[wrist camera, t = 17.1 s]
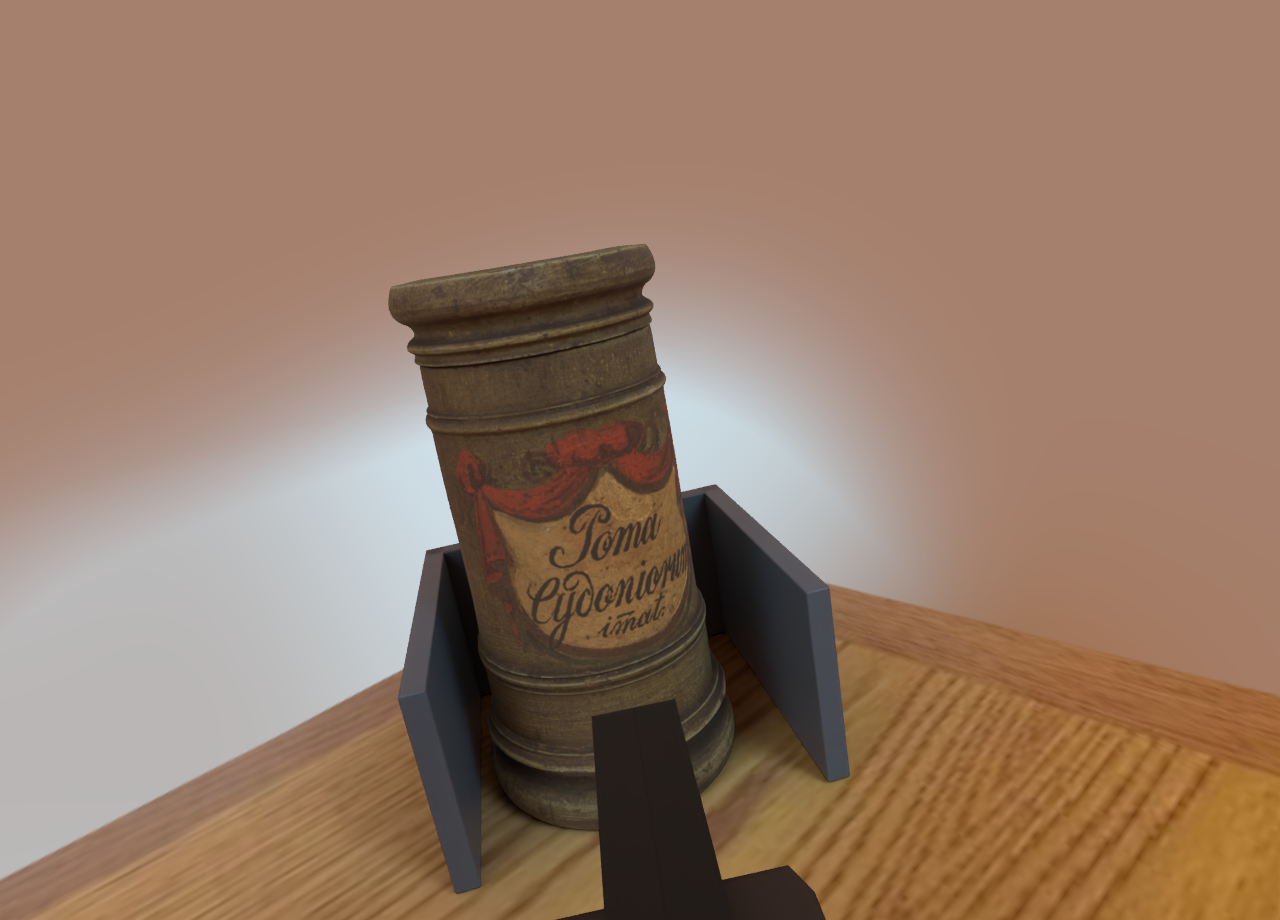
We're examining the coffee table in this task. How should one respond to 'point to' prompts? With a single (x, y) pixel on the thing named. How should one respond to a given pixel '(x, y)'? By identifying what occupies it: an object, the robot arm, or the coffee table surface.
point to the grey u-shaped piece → (735, 603)
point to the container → (566, 514)
